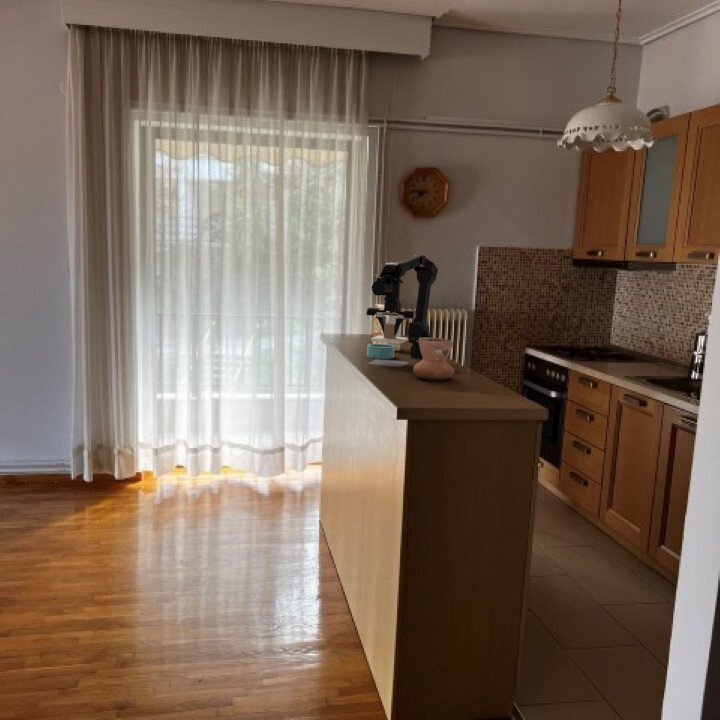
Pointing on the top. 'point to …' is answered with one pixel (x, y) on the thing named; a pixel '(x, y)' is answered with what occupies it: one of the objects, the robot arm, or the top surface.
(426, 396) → the top surface
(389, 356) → the bowl
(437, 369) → the ceramic jug
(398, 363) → the mat
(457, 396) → the top surface
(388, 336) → the lid
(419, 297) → the robot arm
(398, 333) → the coffeecake box
